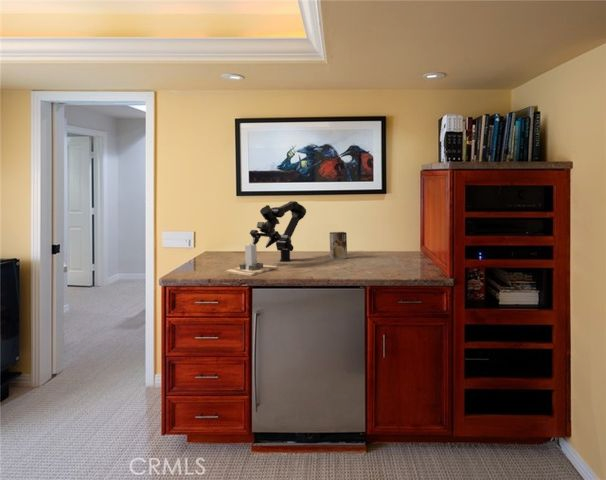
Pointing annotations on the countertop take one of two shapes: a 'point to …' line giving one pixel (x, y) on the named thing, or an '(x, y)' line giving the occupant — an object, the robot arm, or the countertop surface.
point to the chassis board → (251, 269)
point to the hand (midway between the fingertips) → (259, 247)
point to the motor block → (250, 255)
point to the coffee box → (338, 245)
